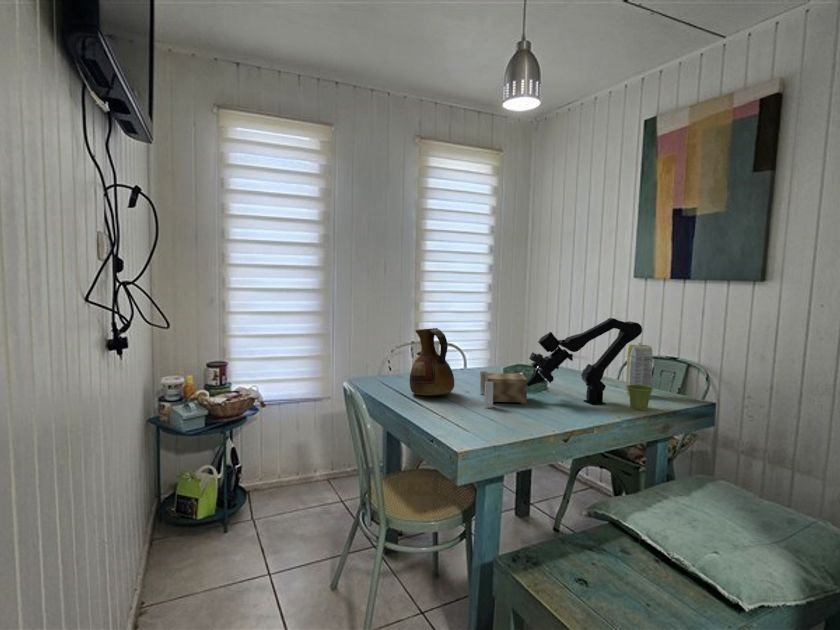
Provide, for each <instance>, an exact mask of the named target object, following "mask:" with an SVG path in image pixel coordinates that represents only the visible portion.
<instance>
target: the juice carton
mask: <svg viewBox="0 0 840 630" xmlns="http://www.w3.org/2000/svg"><path fill="white" fill-rule="evenodd" d="M653 356H654V353H653V348H652V346H650V345H647V344H643V342H635V344H628V347H627V355H626V372H625V373H626V374H625V375H626V378H625V390H626V394H627V396H629V397H630V395H629V390H628V387H627V386H628V385H644V386H649V387H652V377H653V376H652V373H653V371H652V370H653Z"/></svg>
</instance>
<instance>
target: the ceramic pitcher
mask: <svg viewBox="0 0 840 630" xmlns="http://www.w3.org/2000/svg"><path fill="white" fill-rule="evenodd" d="M414 333H416V334H417V335H418V338H419V342H420V347H421V350H420V355H419V356H418V357H417V358H416V359H415V360H414V362H413V364H412V366H411V370H410V372H409V373H410V375H409V388H410V390H411V392H412V393H413V394H414V395H421V396H440V395H441V396H442V395H445V394H446V395H449V394H451V393H452V392H453V390H454V388H455V377H454V372H453V369H452V368H451V366H450V364H449V362H448V361H447V360H446V356H447V352H448V341H447V337H446V335H445V333H444V332H443V331H442V330H441V329H439V328H438V327H435V328H434V327H432V328H422V329H415V331H414ZM435 337H436V338H437V340H438V342H439V345H440V351H439V354H438V352H437V350H436V347H435Z"/></svg>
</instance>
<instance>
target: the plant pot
mask: <svg viewBox="0 0 840 630" xmlns="http://www.w3.org/2000/svg"><path fill="white" fill-rule="evenodd" d="M627 387H628V390H629V395H630V396H629V395H628V396H629V402H630V403H629V404H630V405H629V406H630V408H631V409H634V410H640V411H647V410H648V407H649V403H650V398H651V397H650V396H651V394H652V391H653V390H654V388H653V387H652V386H651V387H649V386H644V385H628V386H627Z"/></svg>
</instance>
